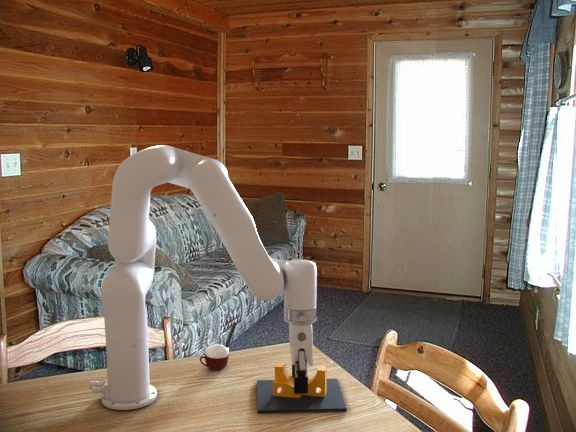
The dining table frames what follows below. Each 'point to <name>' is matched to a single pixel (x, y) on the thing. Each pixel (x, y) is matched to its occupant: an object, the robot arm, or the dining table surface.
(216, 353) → the cocoa
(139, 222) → the robot arm
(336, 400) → the mat
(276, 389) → the pipe clamp
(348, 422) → the dining table surface
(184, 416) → the dining table surface
